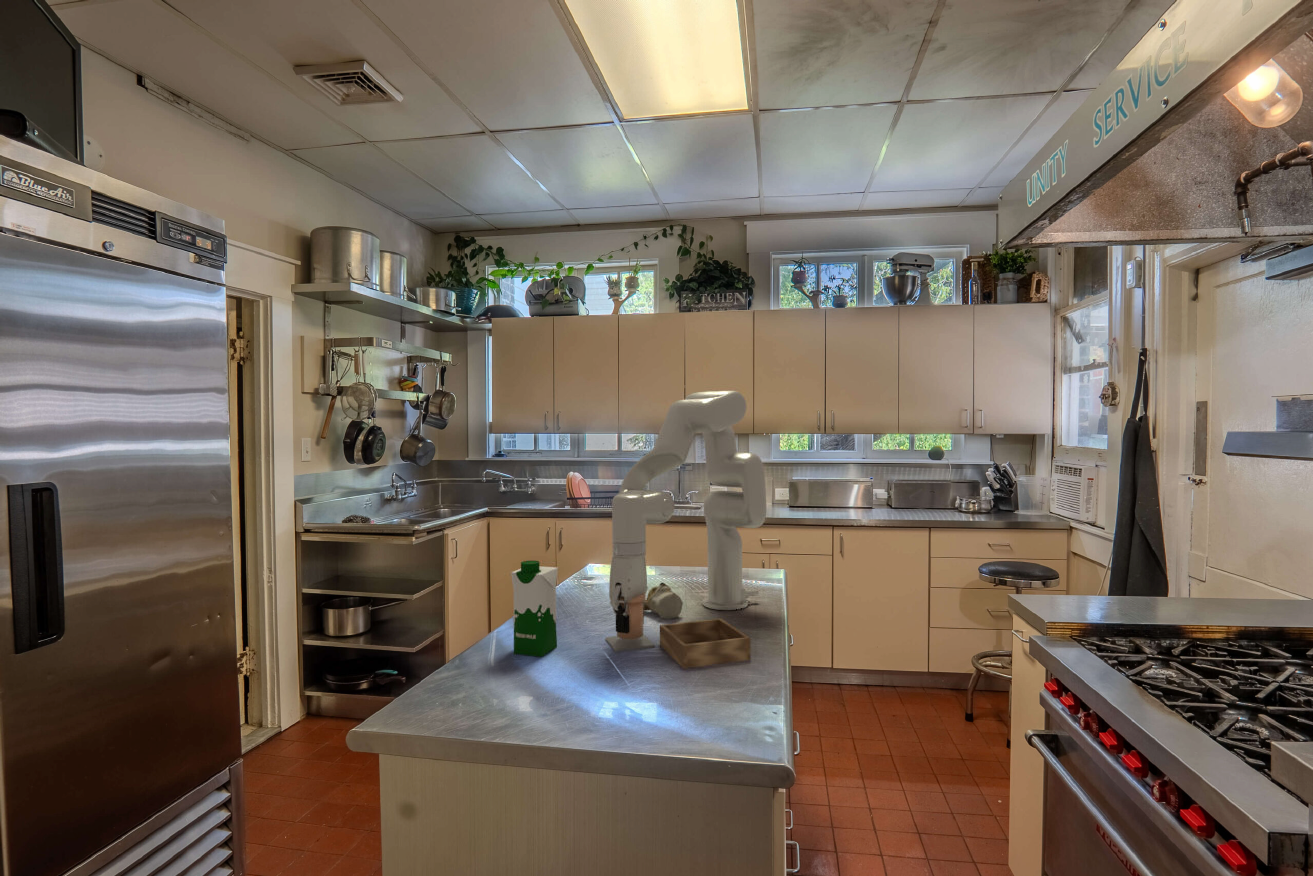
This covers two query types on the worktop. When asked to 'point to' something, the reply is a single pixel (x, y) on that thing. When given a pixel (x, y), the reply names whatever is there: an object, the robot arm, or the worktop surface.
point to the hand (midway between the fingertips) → (630, 627)
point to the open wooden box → (704, 643)
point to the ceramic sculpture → (663, 602)
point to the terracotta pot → (634, 618)
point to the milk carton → (534, 609)
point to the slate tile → (629, 643)
